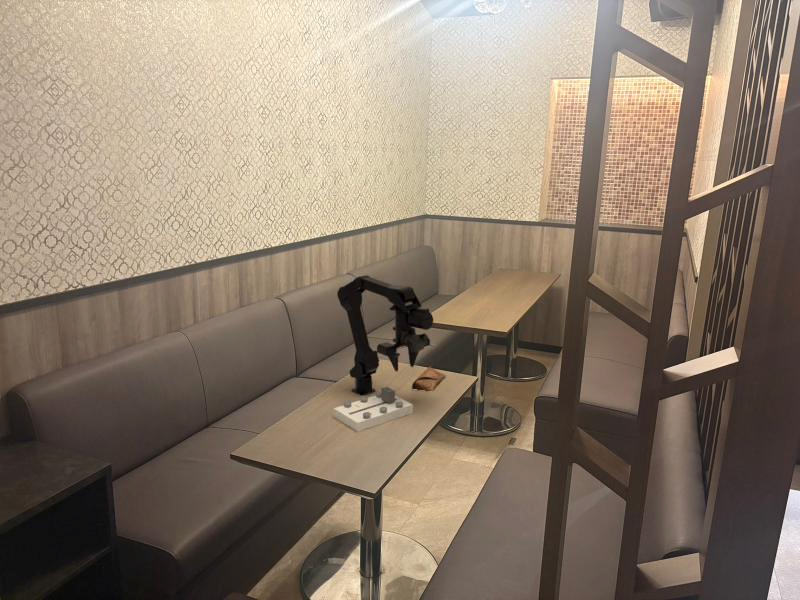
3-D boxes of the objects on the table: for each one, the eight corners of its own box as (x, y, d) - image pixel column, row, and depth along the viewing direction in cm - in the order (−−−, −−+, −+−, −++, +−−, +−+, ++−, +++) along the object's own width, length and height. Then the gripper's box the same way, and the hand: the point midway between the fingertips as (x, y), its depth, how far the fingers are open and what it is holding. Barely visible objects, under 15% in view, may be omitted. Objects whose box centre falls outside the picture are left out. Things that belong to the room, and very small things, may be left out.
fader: (381, 399, 198) (381, 388, 197) (387, 397, 199) (386, 386, 198) (389, 403, 194) (388, 392, 193) (394, 401, 196) (394, 390, 195)
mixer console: (334, 416, 193) (333, 404, 192) (387, 399, 206) (387, 388, 205) (357, 431, 182) (357, 419, 181) (412, 412, 195) (412, 401, 194)
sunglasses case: (434, 392, 212) (425, 376, 212) (418, 399, 215) (409, 383, 215) (447, 375, 228) (439, 360, 228) (432, 382, 231) (424, 367, 231)
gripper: (396, 335, 183) (396, 382, 187) (440, 324, 194) (440, 369, 198) (375, 327, 192) (376, 372, 195) (419, 317, 203) (419, 360, 206)
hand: (404, 368), depth 199 cm, fingers open, 6 cm apart
